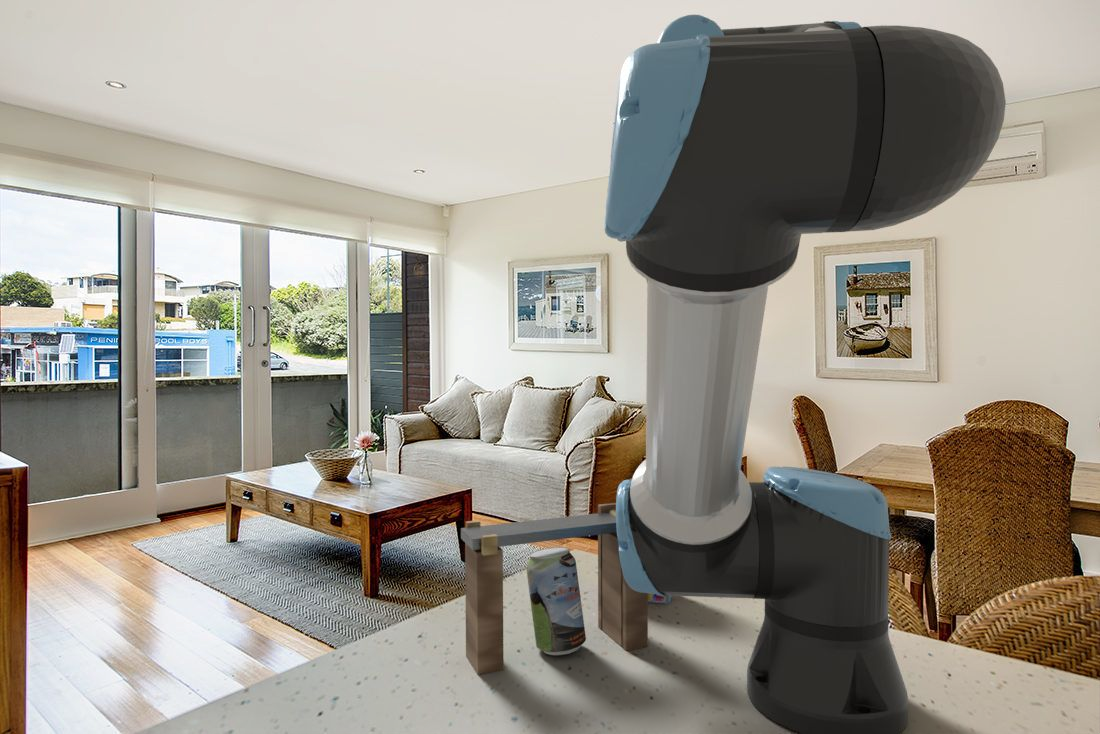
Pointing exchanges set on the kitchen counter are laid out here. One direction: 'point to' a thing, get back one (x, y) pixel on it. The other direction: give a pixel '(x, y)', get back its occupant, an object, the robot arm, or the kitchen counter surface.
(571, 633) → the beverage can
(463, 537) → the grey bridge beam
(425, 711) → the kitchen counter surface
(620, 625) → the can clamp frame
